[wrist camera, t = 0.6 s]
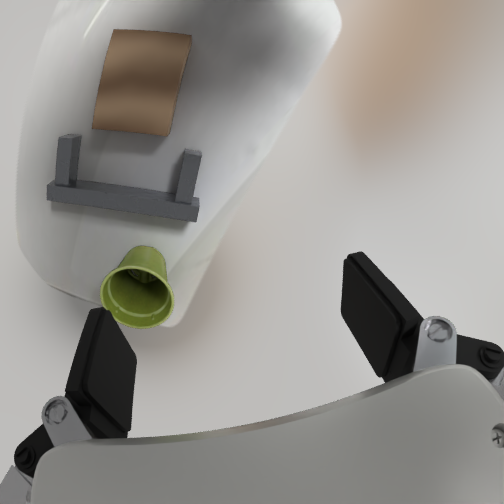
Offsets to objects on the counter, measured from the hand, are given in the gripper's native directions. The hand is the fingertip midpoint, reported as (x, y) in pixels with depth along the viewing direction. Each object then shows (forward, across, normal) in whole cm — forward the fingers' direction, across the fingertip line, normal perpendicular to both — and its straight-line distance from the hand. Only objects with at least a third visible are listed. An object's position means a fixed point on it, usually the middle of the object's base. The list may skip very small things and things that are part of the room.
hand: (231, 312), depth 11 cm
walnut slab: (+28, +6, -12) cm, 31 cm away
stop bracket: (+28, +10, -1) cm, 30 cm away
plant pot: (+28, +12, +12) cm, 33 cm away
